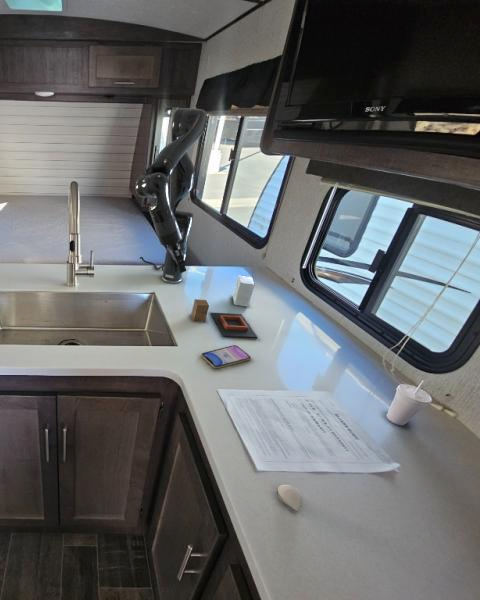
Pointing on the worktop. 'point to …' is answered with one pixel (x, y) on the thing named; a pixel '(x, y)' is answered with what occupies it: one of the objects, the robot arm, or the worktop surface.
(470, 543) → the worktop surface
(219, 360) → the smartphone
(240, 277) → the small box
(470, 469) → the worktop surface
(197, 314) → the oak block
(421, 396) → the smoothie
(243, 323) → the dock pad
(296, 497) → the cream seashell
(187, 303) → the worktop surface
